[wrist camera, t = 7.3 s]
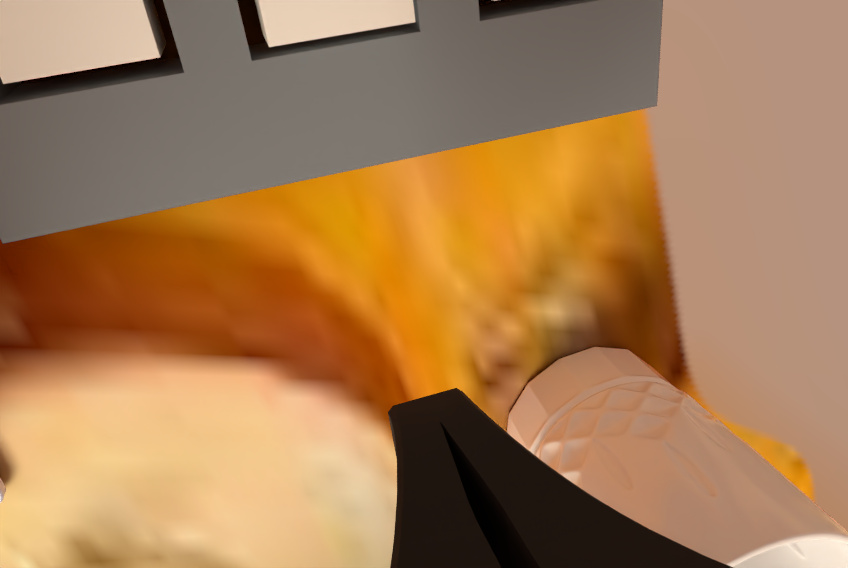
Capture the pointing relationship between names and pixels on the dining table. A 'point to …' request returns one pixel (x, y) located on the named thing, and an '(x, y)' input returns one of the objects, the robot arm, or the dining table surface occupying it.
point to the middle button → (327, 18)
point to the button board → (310, 103)
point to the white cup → (669, 464)
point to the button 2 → (75, 36)
